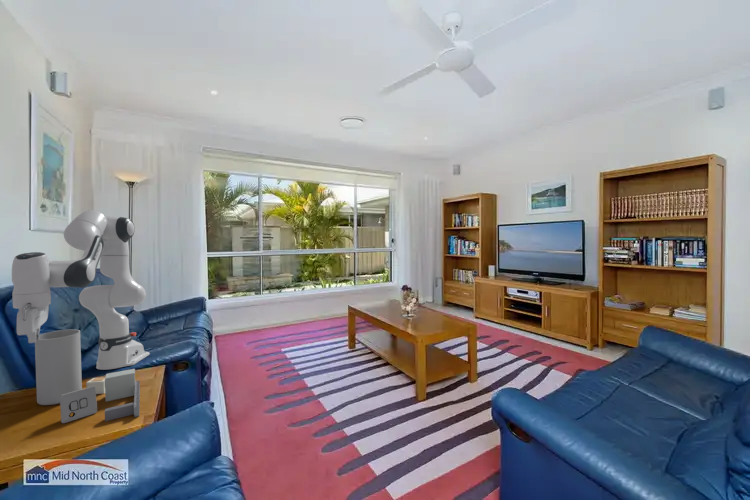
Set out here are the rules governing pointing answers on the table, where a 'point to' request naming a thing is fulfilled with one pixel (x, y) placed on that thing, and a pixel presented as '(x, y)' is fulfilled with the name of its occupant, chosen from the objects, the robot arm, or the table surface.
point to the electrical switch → (78, 404)
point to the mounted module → (119, 384)
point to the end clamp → (119, 411)
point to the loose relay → (97, 384)
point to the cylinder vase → (57, 365)
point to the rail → (137, 399)
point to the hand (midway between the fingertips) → (33, 341)
